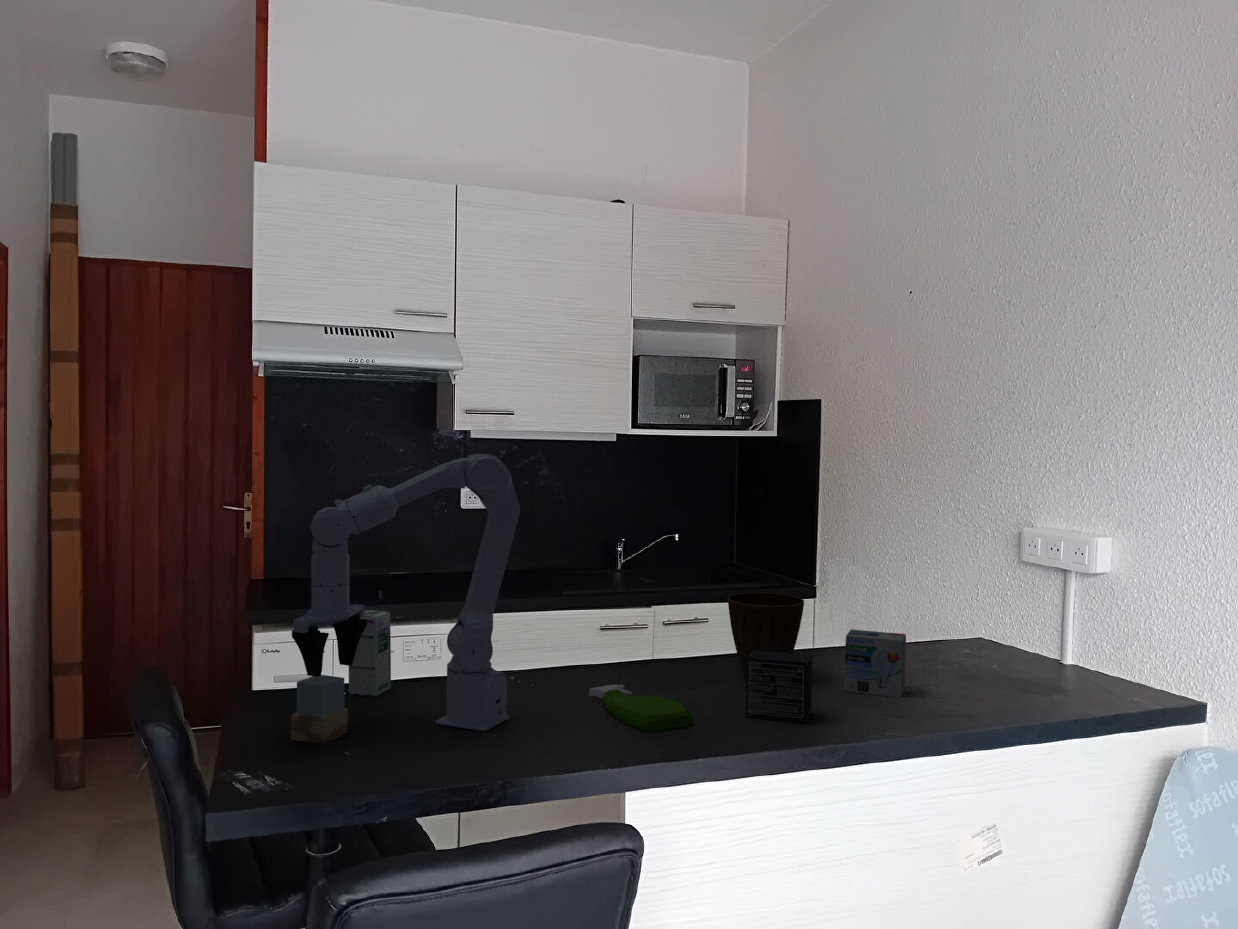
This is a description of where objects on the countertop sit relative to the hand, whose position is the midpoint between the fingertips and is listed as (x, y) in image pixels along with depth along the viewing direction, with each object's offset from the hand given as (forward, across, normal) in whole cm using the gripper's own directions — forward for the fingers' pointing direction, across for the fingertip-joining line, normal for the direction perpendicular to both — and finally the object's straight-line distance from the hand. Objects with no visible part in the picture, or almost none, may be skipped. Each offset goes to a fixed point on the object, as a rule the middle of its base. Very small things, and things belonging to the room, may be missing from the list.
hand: (330, 670), depth 145 cm
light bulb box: (+11, -62, +76) cm, 99 cm away
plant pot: (+10, -62, +55) cm, 83 cm away
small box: (+10, -38, +63) cm, 75 cm away
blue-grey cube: (+6, +2, 0) cm, 6 cm away
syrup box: (+10, -22, -9) cm, 26 cm away
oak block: (+10, +2, 0) cm, 10 cm away
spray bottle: (+11, -32, +39) cm, 51 cm away
